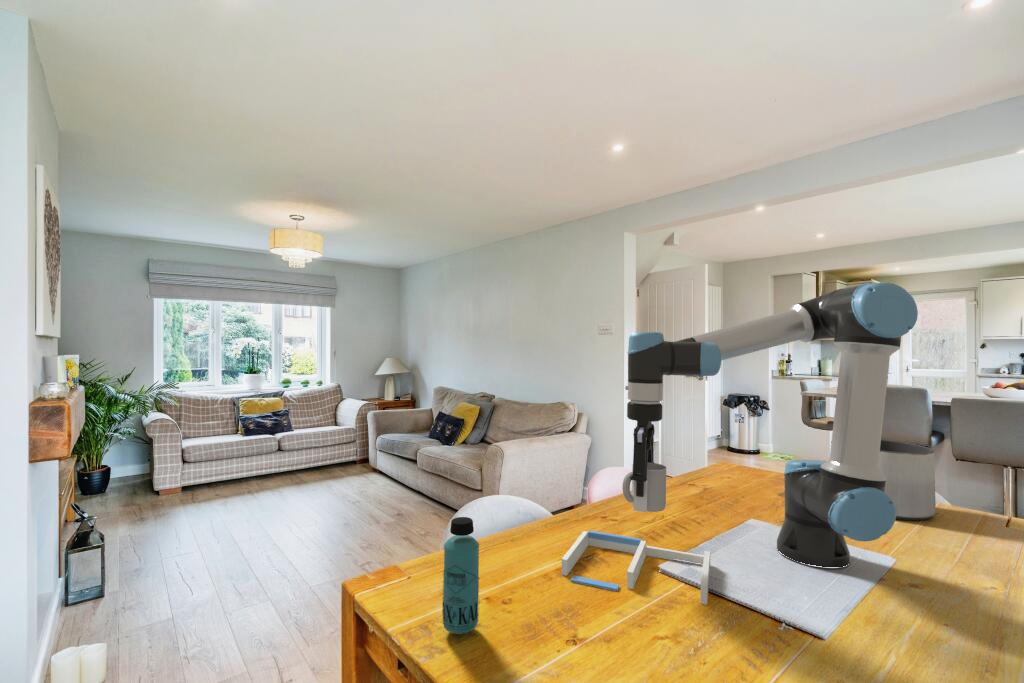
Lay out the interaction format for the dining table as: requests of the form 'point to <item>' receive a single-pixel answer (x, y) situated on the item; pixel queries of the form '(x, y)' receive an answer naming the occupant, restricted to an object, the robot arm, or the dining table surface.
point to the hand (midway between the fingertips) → (643, 504)
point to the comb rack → (634, 569)
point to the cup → (650, 487)
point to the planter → (909, 478)
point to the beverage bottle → (461, 578)
